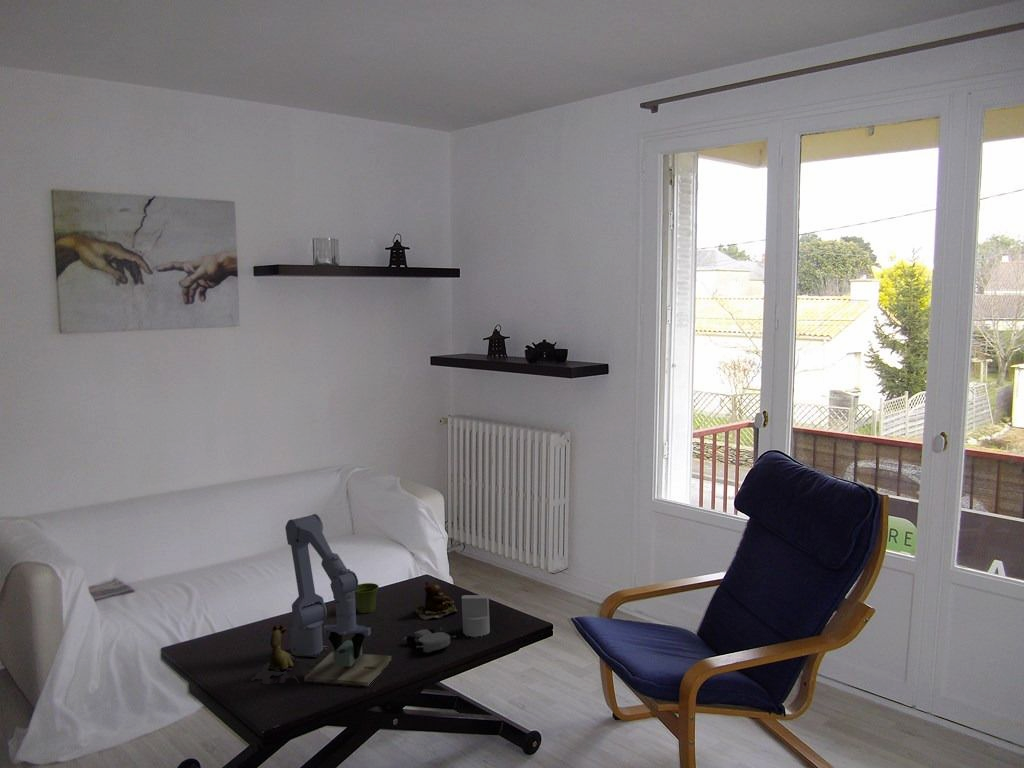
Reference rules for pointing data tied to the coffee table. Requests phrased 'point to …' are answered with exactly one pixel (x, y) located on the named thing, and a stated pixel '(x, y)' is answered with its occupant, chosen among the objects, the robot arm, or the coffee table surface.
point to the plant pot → (366, 597)
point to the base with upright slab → (475, 615)
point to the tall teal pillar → (345, 654)
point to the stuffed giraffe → (279, 652)
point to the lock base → (350, 670)
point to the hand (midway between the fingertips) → (348, 657)
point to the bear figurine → (435, 603)
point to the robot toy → (429, 640)
